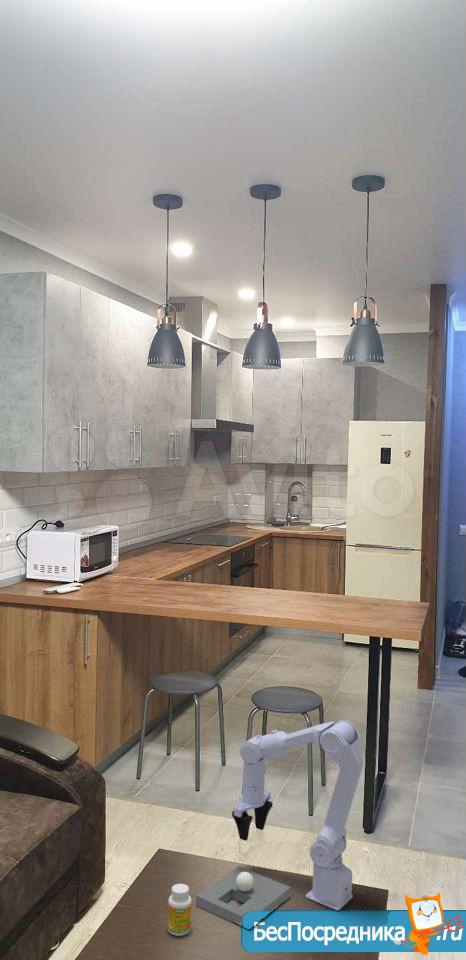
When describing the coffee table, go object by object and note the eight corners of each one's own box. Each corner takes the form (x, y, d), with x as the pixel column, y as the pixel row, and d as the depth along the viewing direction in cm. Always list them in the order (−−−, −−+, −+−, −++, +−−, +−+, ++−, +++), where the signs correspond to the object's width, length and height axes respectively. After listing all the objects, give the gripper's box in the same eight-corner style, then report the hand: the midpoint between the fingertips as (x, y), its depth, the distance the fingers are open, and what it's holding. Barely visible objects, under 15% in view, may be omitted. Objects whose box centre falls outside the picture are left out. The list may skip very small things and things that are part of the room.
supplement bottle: (172, 938, 176) (174, 896, 176) (163, 926, 181) (165, 884, 181) (194, 933, 179) (195, 891, 179) (184, 920, 184) (186, 879, 183)
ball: (256, 871, 192) (245, 883, 189) (258, 886, 194) (247, 898, 190) (242, 865, 195) (231, 876, 192) (244, 879, 196) (233, 891, 193)
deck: (290, 897, 195) (290, 887, 195) (249, 930, 180) (249, 920, 180) (238, 875, 204) (238, 866, 204) (195, 905, 190) (196, 895, 190)
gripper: (256, 771, 215) (254, 819, 215) (225, 787, 203) (223, 839, 203) (277, 778, 211) (276, 827, 211) (247, 795, 199) (245, 847, 199)
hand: (251, 833), depth 207 cm, fingers open, 7 cm apart
